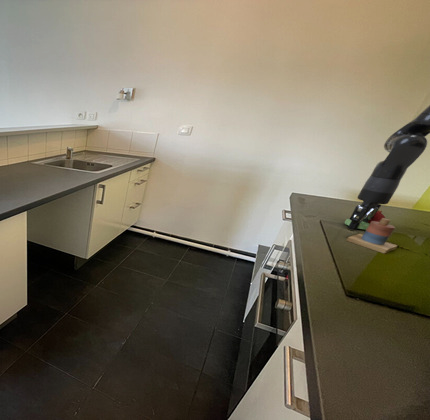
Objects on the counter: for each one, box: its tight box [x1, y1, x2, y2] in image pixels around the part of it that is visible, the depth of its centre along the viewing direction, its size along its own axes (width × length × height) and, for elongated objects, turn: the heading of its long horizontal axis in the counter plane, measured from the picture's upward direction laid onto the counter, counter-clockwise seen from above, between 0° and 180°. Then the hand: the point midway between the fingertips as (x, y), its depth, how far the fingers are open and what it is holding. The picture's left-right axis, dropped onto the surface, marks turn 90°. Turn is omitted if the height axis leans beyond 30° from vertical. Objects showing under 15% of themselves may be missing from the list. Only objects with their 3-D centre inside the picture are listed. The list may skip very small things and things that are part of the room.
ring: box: [344, 218, 369, 231], centre depth 96 cm, size 7×7×2 cm
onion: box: [368, 209, 386, 224], centre depth 98 cm, size 6×6×8 cm
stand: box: [346, 217, 398, 255], centre depth 84 cm, size 9×9×10 cm
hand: (355, 229), depth 97 cm, fingers closed on ring, 6 cm apart
